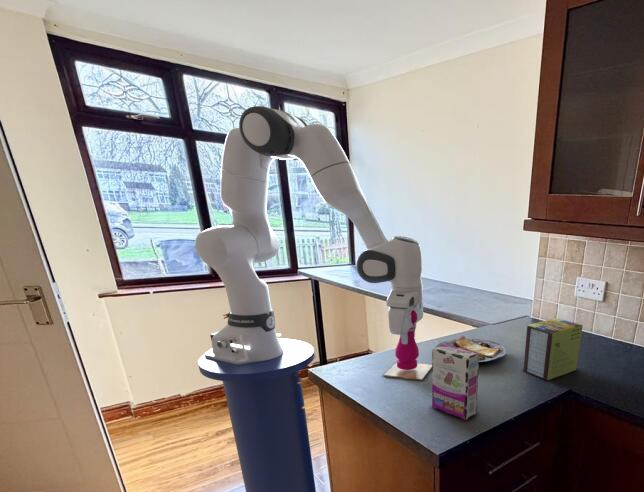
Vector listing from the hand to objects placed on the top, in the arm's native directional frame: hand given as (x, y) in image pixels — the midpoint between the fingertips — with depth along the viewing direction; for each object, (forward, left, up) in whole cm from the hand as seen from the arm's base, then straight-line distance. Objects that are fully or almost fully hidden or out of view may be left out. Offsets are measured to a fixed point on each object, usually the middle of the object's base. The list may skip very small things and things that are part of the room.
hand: (408, 340), depth 123 cm
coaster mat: (0, 0, -10) cm, 10 cm away
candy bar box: (+20, -22, -10) cm, 31 cm away
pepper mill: (-1, 0, -9) cm, 9 cm away
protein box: (+44, +13, -10) cm, 47 cm away
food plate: (+16, +20, -10) cm, 27 cm away
